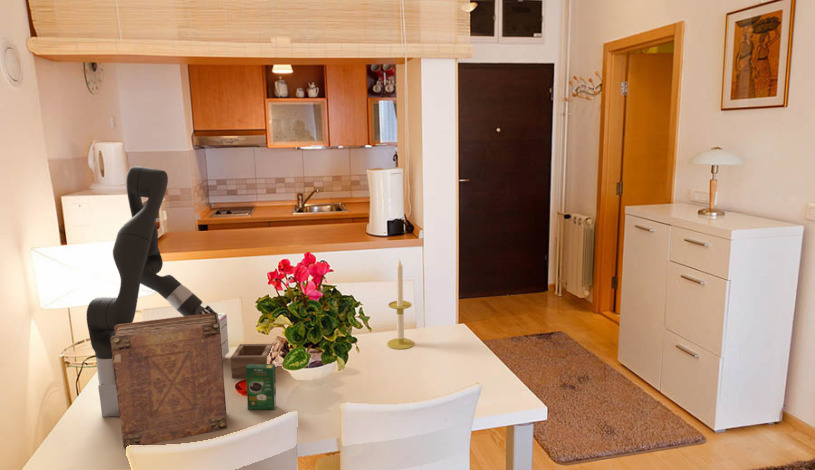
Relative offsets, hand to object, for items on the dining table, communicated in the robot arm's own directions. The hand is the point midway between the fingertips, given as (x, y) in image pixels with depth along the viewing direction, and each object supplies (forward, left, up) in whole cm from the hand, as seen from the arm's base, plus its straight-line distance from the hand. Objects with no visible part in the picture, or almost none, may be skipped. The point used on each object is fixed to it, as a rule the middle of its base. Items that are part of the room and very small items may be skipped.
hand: (221, 333), depth 189 cm
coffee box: (-34, -22, -10) cm, 41 cm away
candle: (+11, -62, -10) cm, 63 cm away
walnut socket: (-9, -13, -10) cm, 18 cm away
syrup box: (0, +2, -8) cm, 8 cm away
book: (-45, -1, -10) cm, 46 cm away
